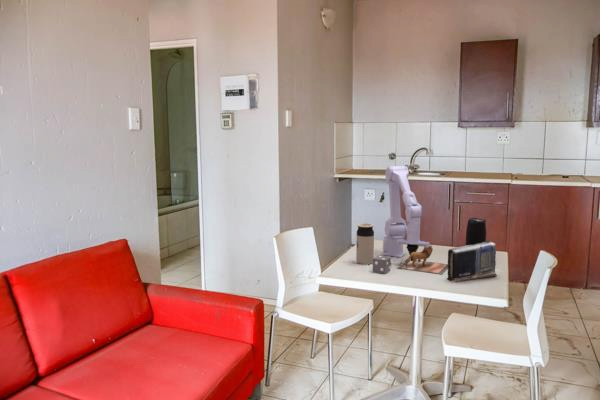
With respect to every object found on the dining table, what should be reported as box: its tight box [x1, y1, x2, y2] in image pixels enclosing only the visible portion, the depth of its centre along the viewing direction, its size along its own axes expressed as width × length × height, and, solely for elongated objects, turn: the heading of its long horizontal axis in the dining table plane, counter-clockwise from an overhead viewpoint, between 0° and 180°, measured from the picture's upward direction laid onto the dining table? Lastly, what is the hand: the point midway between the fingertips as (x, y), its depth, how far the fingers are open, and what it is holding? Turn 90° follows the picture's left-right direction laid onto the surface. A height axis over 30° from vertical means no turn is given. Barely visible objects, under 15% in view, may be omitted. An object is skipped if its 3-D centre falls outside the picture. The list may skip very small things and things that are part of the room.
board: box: [397, 259, 448, 275], centre depth 227 cm, size 20×17×1 cm
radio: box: [446, 240, 498, 283], centre depth 210 cm, size 23×9×15 cm, turn 103°
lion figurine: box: [404, 244, 434, 267], centre depth 227 cm, size 15×5×9 cm, turn 128°
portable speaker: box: [465, 217, 487, 246], centre depth 238 cm, size 9×9×20 cm
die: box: [372, 255, 392, 275], centre depth 220 cm, size 6×6×6 cm
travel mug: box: [356, 222, 375, 265], centre depth 234 cm, size 8×8×18 cm
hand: (412, 260), depth 230 cm, fingers closed, pressing on lion figurine
